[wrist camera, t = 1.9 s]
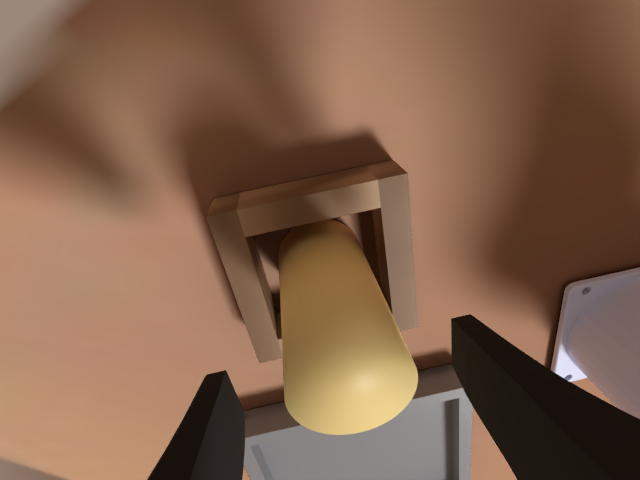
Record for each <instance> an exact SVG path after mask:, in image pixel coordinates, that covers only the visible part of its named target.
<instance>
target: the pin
mask: <svg viewBox="0 0 640 480" xmlns="http://www.w3.org/2000/svg"><path fill="white" fill-rule="evenodd" d="M279 280H280V305H281V329H282V354H283V378H284V400H285V405H286V407H287V410H288V412H289V413H290V415H291V416H292V417H293V418H294V419H295V420H296V421H297V422H298V423H299V424H301V425H302V426H304V427H306V428H308V429H310V430H313V431H316V432H319V433H324V434H331V435H347V434H355V433H360V432H364V431H368V430H371V429H373V428H376V427H378V426H380V425H383V424H384V423H386V422H388V421H390V420H391V419H393V418H394V417H395V416H397V415H398V414H399V413H400V412H401V411H403V409H404V408H405V407H406V406H407V405H408V404H409V402H410V401H411V400H412V398H413V396H414V394H415V391H416V389H417V384H418V372H417V368H416V365H415V363H414V361H413V359H412V357H411V354H410V352H409V350H408V348H407V346H406V344H405V341H404V339H403V337H402V335H401V333H400V331H399V328H398V326H397V324H396V322H395V320H394V318H393V315H392V313H391V311H390V309H389V307H388V305H387V302H386V300H385V298H384V296H383V294H382V292H381V289H380V287H379V285H378V283H377V281H376V279H375V276H374V274H373V272H372V270H371V268H370V266H369V263H368V261H367V259H366V257H365V255H364V253H363V251H362V248H361V246H360V244H359V242H358V240H357V238H356V236H355V234H354V233H353V232H352V231H351V230H350V229H349V228H348V227H347V226H345V225H344V224H342V223H340V222H338V221H335V220H331V219H327V220H322V221H318V222H313V223H308V224H304V225H299V226H296V227H294V228H293V229H292V230H291V231H290V232H289V233H288V234H287V235H286V236H285V238H284V239H283V241H282V243H281V246H280V249H279Z"/></svg>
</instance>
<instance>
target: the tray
mask: <svg viewBox="0 0 640 480" xmlns="http://www.w3.org/2000/svg"><path fill="white" fill-rule="evenodd" d="M417 372H418V384H417V389H416V391H415V394H414V396H413V398H412V400H411V401H410V402H409V404H408V405H407V406H406V407H405V408H404V409H403V411H401V412H400V413H399V414H398V415H397V416H395V417H394V418H393V419H391V420H390V421H388V422H386V423H384V424H383V425H380V426H378V427H376V428H373V429H371V430H368V431H364V432H360V433H355V434H347V435H331V434H324V433H319V432H316V431H313V430H310V429H308V428H306V427H304V426H302V425H301V424H299V423H298V422H297V421H296V420H295V419H294V418H293V417H292V416H291V415H290V413H289V412H288V410H287V407H286V405H285V402H281V403H277V404H272V405H268V406H264V407H259V408H255V409H250V410H246V411H244V415H245V453H244V466H245V468H246V470H247V472H248V474H249V476H250V478H251V480H470V470H471V436H472V404H471V402H470V401H469V399H468V397H467V396H466V394H465V392H464V390H463V387H462V385H461V383H460V381H459V379H458V377H457V375H456V373H455V370H454V368H453V366H452V363H451V364H447V365H443V366H438V367H434V368H430V369H425V370H421V371H417Z"/></svg>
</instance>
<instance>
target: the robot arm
mask: <svg viewBox="0 0 640 480" xmlns="http://www.w3.org/2000/svg"><path fill="white" fill-rule="evenodd" d="M451 327H452V366H453V368H454V370H455V373H456V375H457V377H458V379H459V381H460V383H461V385H462V387H463V390H464V392H465V394H466V396H467V397H468V399H469V401H470V402H471V404H472V406H473V407H474V409H475V411H476V412H477V414H478V415H479V417H480V419H481V420H482V422H483V424H484V425H485V427H486V428H487V430H488V432H489V433H490V435H491V436H492V438H493V440H494V441H495V443H496V445H497V446H498V448H499V449H500V451H501V453H502V454H503V456H504V457H505V459H506V461H507V462H508V464H509V466H510V467H511V469H512V471H513V473H514V474H515V476H516V478H517V480H640V267H639V268H634V269H630V270H625V271H621V272H617V273H612V274H608V275H603V276H599V277H594V278H590V279H586V280H581V281H577V282H573V283H570V284H569V285H568V286H567V287H566V288H565V291H564V296H563V302H562V308H561V313H560V319H559V325H558V331H557V336H556V342H555V348H554V354H553V360H552V365H551V370H550V369H548V368H547V367H545V366H543V365H542V364H540V363H539V362H537V361H536V360H534V359H533V358H531V357H530V356H528V355H527V354H525V353H524V352H522V351H521V350H519V349H518V348H517V347H515V346H514V345H512V344H511V343H509V342H508V341H507V340H505V339H504V338H502V337H501V336H500V335H498V334H497V333H495V332H494V331H493V330H491V329H490V328H489V327H487V326H486V325H484V324H483V323H482V322H480V321H479V320H478V319H476V318H475V317H473V316H472V315H465V316H461V317H457V318H452V319H451ZM584 378H589V379H590V381H591V382H592V383H593V384H594V385H595V386H596V387H597V388H598V389H599V390H600V391H601V392H602V393H603V394H604V395H605V396H606V397H607V398H608V399H609V400H610V401H611V402H612V403H613V404H614V405H615V406H616V407H617V408H616V407H614V406H613V405H611V404H609V403H607V402H605V401H603V400H601V399H599V398H598V397H596V396H594V395H592V394H590V393H588V392H586V391H585V390H583V389H581V388H579V387H578V386H576V385H574V384H573V383H571V381H575V380H580V379H584ZM244 453H245V415H244V411H243V408H242V406H241V404H240V401H239V399H238V397H237V395H236V392H235V390H234V388H233V385H232V383H231V381H230V378H229V376H228V374H227V372H226V371H221V372H217V373H212V374H208V375H206V377H205V378H204V380H203V382H202V384H201V386H200V388H199V389H198V391H197V393H196V395H195V397H194V399H193V401H192V403H191V405H190V407H189V409H188V411H187V412H186V414H185V416H184V418H183V420H182V422H181V424H180V425H179V427H178V429H177V431H176V432H175V434H174V436H173V438H172V440H171V441H170V443H169V445H168V447H167V448H166V450H165V452H164V453H163V455H162V457H161V458H160V460H159V461H158V463H157V465H156V466H155V468H154V470H153V471H152V473H151V474H150V476H149V478H148V479H147V480H242V475H243V464H244Z"/></svg>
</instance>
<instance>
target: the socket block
mask: <svg viewBox="0 0 640 480" xmlns="http://www.w3.org/2000/svg"><path fill="white" fill-rule="evenodd" d="M368 210H372V218H373V226H374V235H375V243H376V251H377V259H378V267H379V275H380V283H381V292H382V294H383V296H384V298H385V300H386V302H387V305H388V307H389V309H390V311H391V313H392V315H393V318H394V320H395V322H396V324H397V326H398V328H399V331H404V330H408V329H413V328H417V327H418V315H417V301H416V286H415V271H414V257H413V242H412V228H411V213H410V198H409V184H408V173H407V172H406V171H405V170H404V169H402V168H401V167H400V166H399V165H398V164H397V163H396V162H395V161H393V160H389V161H384V162H380V163H375V164H371V165H366V166H361V167H357V168H352V169H347V170H343V171H338V172H333V173H329V174H324V175H319V176H315V177H310V178H306V179H301V180H296V181H292V182H287V183H282V184H278V185H273V186H268V187H264V188H259V189H255V190H250V191H245V192H241V193H236V194H231V195H227V196H222V197H217V198H213V200H212V202H211V205H210V208H209V210H208V213H207V215H206V219H207V221H208V224H209V227H210V230H211V232H212V235H213V238H214V241H215V243H216V246H217V249H218V251H219V254H220V257H221V260H222V262H223V265H224V268H225V271H226V273H227V276H228V279H229V282H230V284H231V287H232V290H233V292H234V295H235V298H236V301H237V303H238V306H239V309H240V312H241V314H242V317H243V320H244V323H245V325H246V328H247V331H248V333H249V336H250V339H251V342H252V344H253V347H254V350H255V353H256V355H257V358H258V361H259V363H262V362H267V361H271V360H276V359H280V358H283V354H282V329H281V312H279V313H277V311H276V308H275V305H274V301H273V298H272V295H271V292H270V288H269V285H268V282H267V279H266V275H265V272H264V269H263V265H262V262H261V259H260V256H259V252H258V249H257V246H256V243H255V239H254V236H253V235H258V234H263V233H267V232H272V231H276V230H281V229H285V228H290V227H295V226H299V225H304V224H308V223H313V222H318V221H322V220H327V219H331V218H336V217H340V216H345V215H350V214H354V213H359V212H363V211H368Z"/></svg>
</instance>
